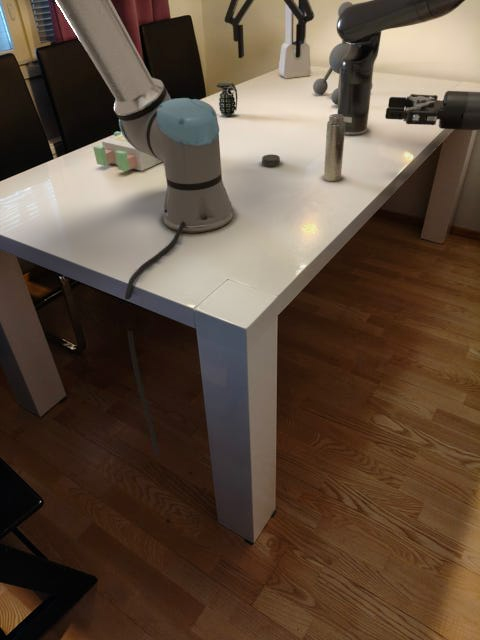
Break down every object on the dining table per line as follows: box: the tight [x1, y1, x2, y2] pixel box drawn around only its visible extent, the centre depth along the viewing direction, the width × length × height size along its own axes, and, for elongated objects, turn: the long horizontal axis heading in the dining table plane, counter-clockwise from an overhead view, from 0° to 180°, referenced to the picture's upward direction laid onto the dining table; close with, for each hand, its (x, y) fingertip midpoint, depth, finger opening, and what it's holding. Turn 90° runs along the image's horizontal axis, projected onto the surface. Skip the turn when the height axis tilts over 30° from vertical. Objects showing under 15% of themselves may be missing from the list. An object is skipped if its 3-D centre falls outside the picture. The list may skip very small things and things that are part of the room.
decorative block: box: [92, 131, 163, 172], centre depth 138 cm, size 26×6×20 cm
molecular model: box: [312, 1, 373, 106], centre depth 171 cm, size 24×22×30 cm
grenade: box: [215, 82, 238, 117], centre depth 166 cm, size 7×6×10 cm
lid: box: [261, 153, 281, 168], centre depth 131 cm, size 5×5×2 cm
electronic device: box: [278, 0, 312, 79], centre depth 204 cm, size 12×8×30 cm, turn 105°
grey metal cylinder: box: [323, 113, 345, 182], centre depth 117 cm, size 4×4×15 cm
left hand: (269, 56), depth 115 cm, fingers open, 13 cm apart
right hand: (387, 107), depth 108 cm, fingers open, 8 cm apart
